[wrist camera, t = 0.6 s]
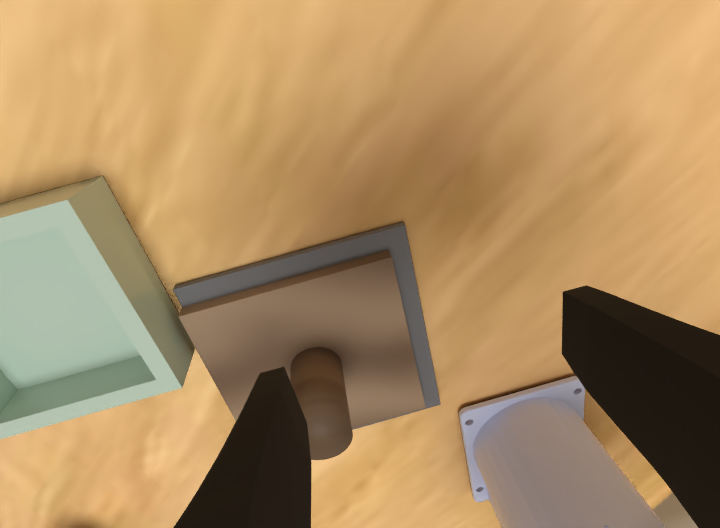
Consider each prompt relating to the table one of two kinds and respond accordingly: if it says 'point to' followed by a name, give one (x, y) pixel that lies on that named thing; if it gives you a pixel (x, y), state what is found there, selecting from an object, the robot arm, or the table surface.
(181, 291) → the mat
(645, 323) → the robot arm
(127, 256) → the dish
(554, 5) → the table surface
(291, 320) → the lid
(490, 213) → the table surface
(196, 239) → the table surface
